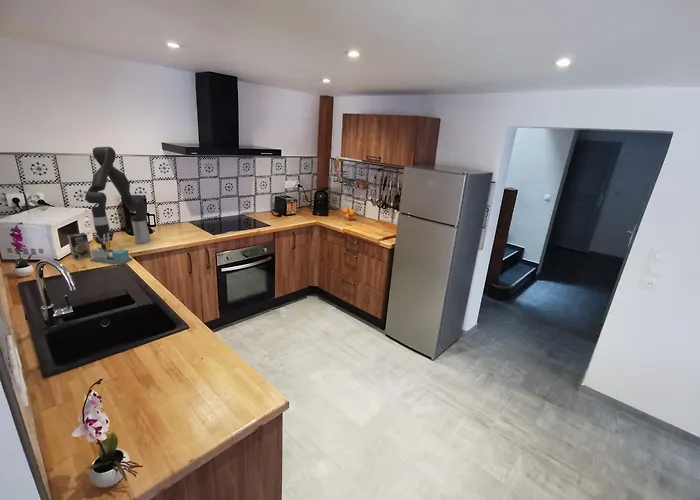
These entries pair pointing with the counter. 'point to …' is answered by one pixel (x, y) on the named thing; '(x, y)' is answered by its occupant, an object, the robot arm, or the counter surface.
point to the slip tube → (108, 249)
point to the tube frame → (118, 257)
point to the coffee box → (79, 246)
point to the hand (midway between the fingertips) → (106, 248)
